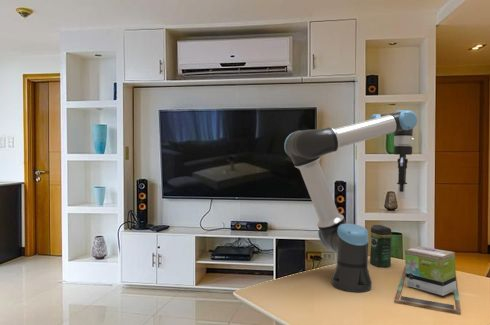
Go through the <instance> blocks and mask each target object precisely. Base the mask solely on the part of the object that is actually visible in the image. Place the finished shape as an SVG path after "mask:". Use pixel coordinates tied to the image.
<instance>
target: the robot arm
mask: <svg viewBox="0 0 490 325" xmlns="http://www.w3.org/2000/svg"><path fill="white" fill-rule="evenodd" d="M417 117H418V116H417V115H416V113H415V112H414V111H412V110H410V109H409V110H408V109H407V110H405V109H403V110H396V111H395V112H389V113H383V114H382V113H378V114H377V113H373V114H372V115H371V116H370V118H369V119H367V120H363V121H359V122H356V123H352V124H347V125H344V126H340V127H336V128H333V127H330V126H329V127H326V128H318V129H304V130H296V131H294V132H291V133H290V134H288V136H287V137H286V138H285V141H284V145H283V146H284V148H283V149H284V152H285V153H286V155H287V156H288V157H289V158H290V159H291V161H292V163H293V166H294V168H297V169H298V170H299V171H300V174H301V177H302V179H303V181H304V184H305V187H306V189H307V192H308V195H309V197H310V199H311V202H312V204H313V207H314V209H315V212H316V213H315V214H316V215H317V217H318V220H319V221H318V222H317V227H318V232H317V233H318V240H320V242H321V243H322V245H324V247H326V248H327V249H330V250H332V251H334V252H336V266H335V268H334V271H333V274H332V277H331V285H332V286H333V287H335V288H336V289H338V290H341V291H345V292H350V293H353V292H354V293H363V292H364V293H365V292H368V291H370V290H372V284H373V283H372V282H373V281H372V278H371V275H370V272H369V268H368V265H369V264H368V263H369V262H368V259H369V258H368V257H369V256H368V255H369V241H370V240H369V231H368V230H367V228H366V227H364V226H363V225H359V224H355V223H347V222H346V220H345V217H344V214H341V213H339V211H338V207H337V206H336V204H335V201H334V198H333V196H332V193H331V191H330V186H329V185H328V183H327V179H326V177H325V175H324V174H325V173H324V171H323V168H322V166H321V164H320V161H321V158H322V156H325V155H328V154H331V153H334V152H337V151H338V150H339V148H342V147H347V146H349V145H353V144H357V143H361V142H365V141H368V140H371V139H372V140H373V139H375V138H379V137H383V136H387V135H389V134H394V135H393V141H394V142H393V145H394V147H393V154H394V155H399V158H397V168H398V174H397V175H398V178H397V179H398V181H397V182H396V185H398V187H397V188H398V192H397V193H398V196H397V198H398V200H405V199H406V185H407V184H408V182H407V169H408V162H409V159H408V158H407V156H411V155H412V154H413V141H415V138H413V136H414V135H413V132H414V128H415V127H416V126H417V123H418V118H417Z"/></svg>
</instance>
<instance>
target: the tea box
mask: <svg viewBox="0 0 490 325" xmlns="http://www.w3.org/2000/svg"><path fill="white" fill-rule="evenodd" d="M404 255H405V256H404V258H405V259H404V260H405V265H406V276H405V279H406V280H405V281H406V282H405V284H406V287H410V288H415V289H418V290H421V291H424V292H428V293H432V294H435V295H439V296H442V297H443V296H446V295H448V294H450V293H454V291H455V290H456V279H457V275H456V273H457V271H456V252H455V251H451V250H450V251H449V250H443V249H437V248H432V247H427V246H421V245H417V246H415V247H411V248H409V249H405V250H404Z"/></svg>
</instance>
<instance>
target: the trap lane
mask: <svg viewBox="0 0 490 325" xmlns="http://www.w3.org/2000/svg"><path fill="white" fill-rule="evenodd" d="M405 279H406V264H405V265H404V267H403V270H402V274H401V277H400V279H399V283H398V286H397V288H396V293H395V296H394V299H393V303H395V304H400V305H405V306H410V307H411V306H412V307H415V308H416V307H417V308H421V309H427V310H432V311H438V312H444V313H448V314H455V315H461V316H462V310H461V304H460V293H459V288H458V282H457V281H458V280H457V278H456V290H455V291H453V293H454V295H453V296H454V302H455V304H449V303H444V302H438V301H432V300H428V299H427V300H426V299H420V298H415V297H409V296H404V295H403V296H402V295H401V293H402V290H403V287H404V283H405V281H406V280H405ZM400 296H401V297H400ZM454 305H455V306H454Z"/></svg>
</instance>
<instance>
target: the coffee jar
mask: <svg viewBox="0 0 490 325" xmlns="http://www.w3.org/2000/svg"><path fill="white" fill-rule="evenodd" d="M392 236H393V235H392V229H391V228H390V227H387V226H385V225H382V224H372V226H371V227H370V238H371V239H370V240H371V241H370V253H369V263H370V264H371V265H374V266H376V267H382V268H387V267H391V265H392V259H391V257H392V255H391V248H392V247H391V241H392Z"/></svg>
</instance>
